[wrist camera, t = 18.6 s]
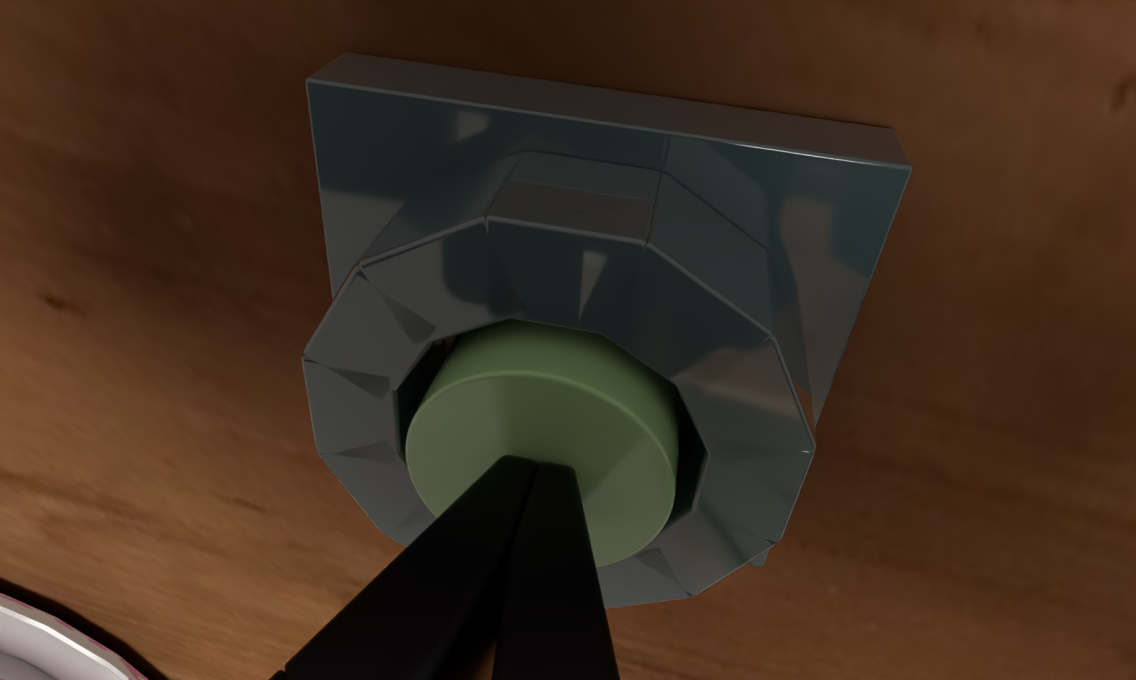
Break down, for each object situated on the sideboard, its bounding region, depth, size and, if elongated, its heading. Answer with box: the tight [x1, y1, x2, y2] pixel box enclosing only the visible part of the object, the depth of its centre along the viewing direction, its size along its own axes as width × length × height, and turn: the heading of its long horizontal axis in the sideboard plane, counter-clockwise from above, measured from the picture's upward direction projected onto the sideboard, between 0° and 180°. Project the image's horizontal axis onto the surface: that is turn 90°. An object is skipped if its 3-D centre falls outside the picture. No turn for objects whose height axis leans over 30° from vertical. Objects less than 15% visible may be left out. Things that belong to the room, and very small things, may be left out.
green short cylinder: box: [406, 319, 683, 567], centre depth 10 cm, size 3×3×2 cm
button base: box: [301, 52, 913, 609], centre depth 10 cm, size 7×7×3 cm
